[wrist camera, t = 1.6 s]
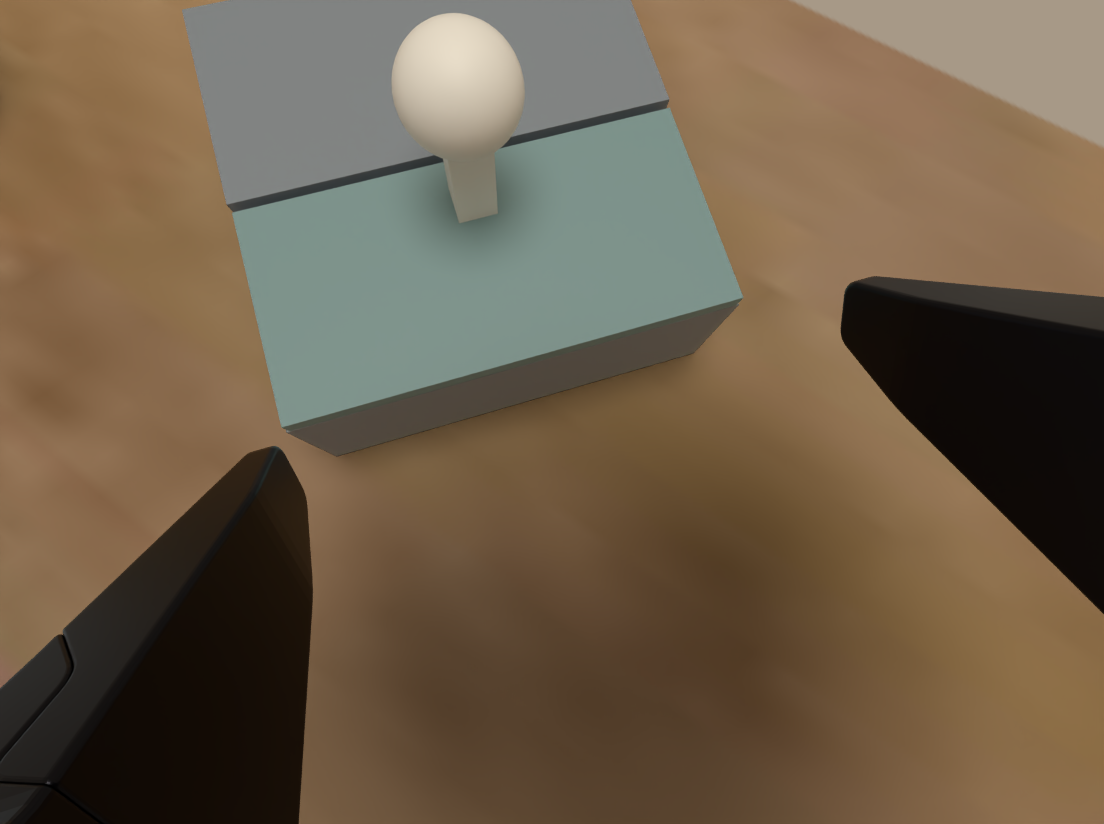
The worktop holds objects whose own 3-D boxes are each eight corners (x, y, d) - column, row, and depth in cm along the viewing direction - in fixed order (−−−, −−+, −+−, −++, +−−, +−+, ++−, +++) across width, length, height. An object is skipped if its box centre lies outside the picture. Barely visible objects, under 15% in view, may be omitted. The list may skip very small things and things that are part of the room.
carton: (693, 352, 24) (746, 296, 18) (336, 456, 22) (277, 428, 17) (583, 53, 27) (601, -75, 21) (256, 127, 25) (182, 9, 19)
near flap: (736, 305, 19) (852, 180, 12) (289, 431, 18) (151, 364, 11) (665, 120, 20) (736, -83, 14) (240, 223, 19) (91, 49, 12)
